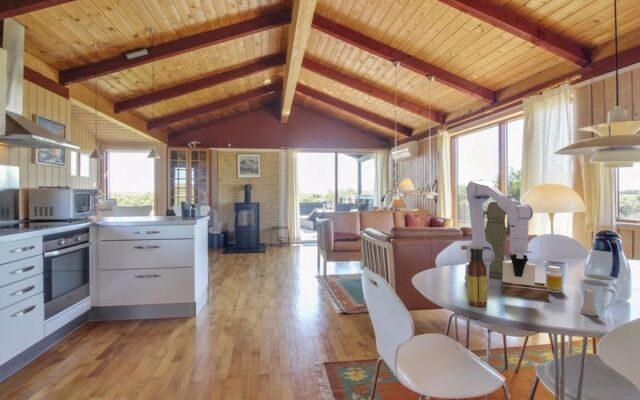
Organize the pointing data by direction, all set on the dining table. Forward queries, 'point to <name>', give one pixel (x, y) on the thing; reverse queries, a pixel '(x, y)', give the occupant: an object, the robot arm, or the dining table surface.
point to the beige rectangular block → (510, 277)
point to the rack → (526, 290)
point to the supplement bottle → (554, 279)
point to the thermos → (496, 237)
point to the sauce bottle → (477, 279)
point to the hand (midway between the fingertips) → (518, 275)
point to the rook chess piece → (588, 303)
